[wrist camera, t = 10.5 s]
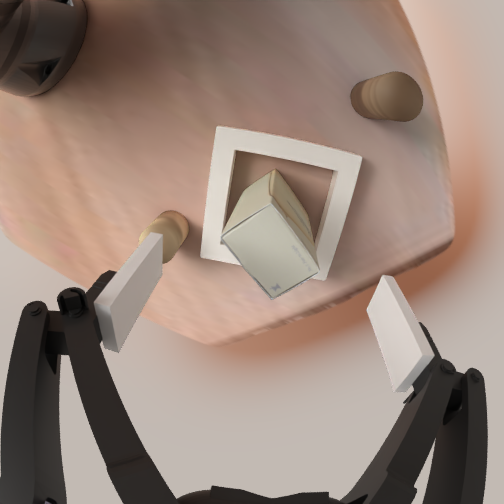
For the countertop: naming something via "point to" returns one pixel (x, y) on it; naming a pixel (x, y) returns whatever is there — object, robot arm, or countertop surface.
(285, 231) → the skincare box
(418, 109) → the mid walnut dowel
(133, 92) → the countertop surface
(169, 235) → the short oak dowel
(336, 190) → the white square frame
